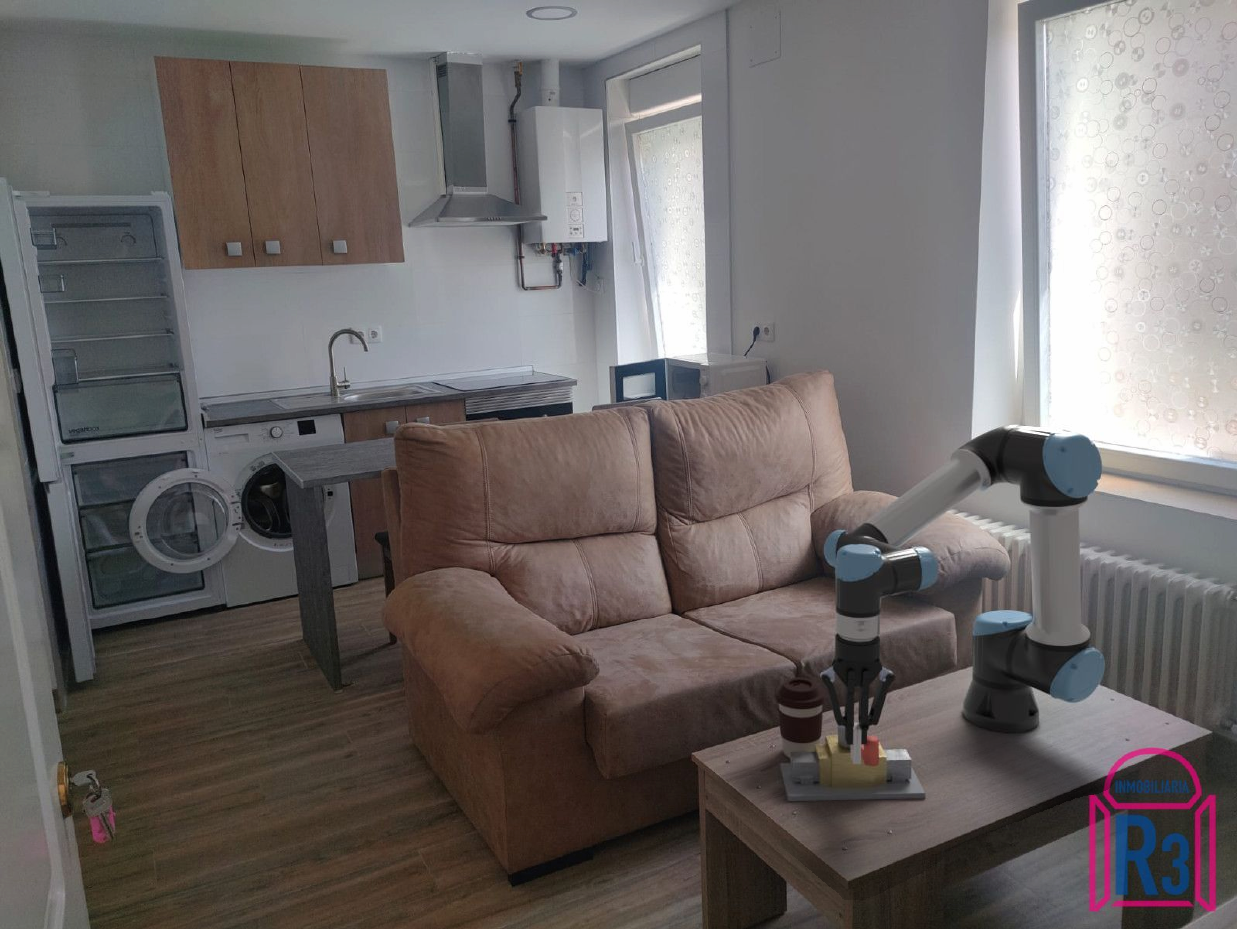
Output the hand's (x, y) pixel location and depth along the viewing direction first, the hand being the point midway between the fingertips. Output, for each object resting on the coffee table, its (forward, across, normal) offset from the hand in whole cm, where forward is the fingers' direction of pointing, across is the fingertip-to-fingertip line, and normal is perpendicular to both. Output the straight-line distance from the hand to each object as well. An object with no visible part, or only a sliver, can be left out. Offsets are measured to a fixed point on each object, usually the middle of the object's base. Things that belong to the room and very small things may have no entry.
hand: (855, 760), depth 164 cm
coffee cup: (+11, -6, +22) cm, 26 cm away
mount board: (+11, +1, +11) cm, 15 cm away
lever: (+2, +2, +6) cm, 7 cm away
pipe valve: (+11, +1, +11) cm, 15 cm away
